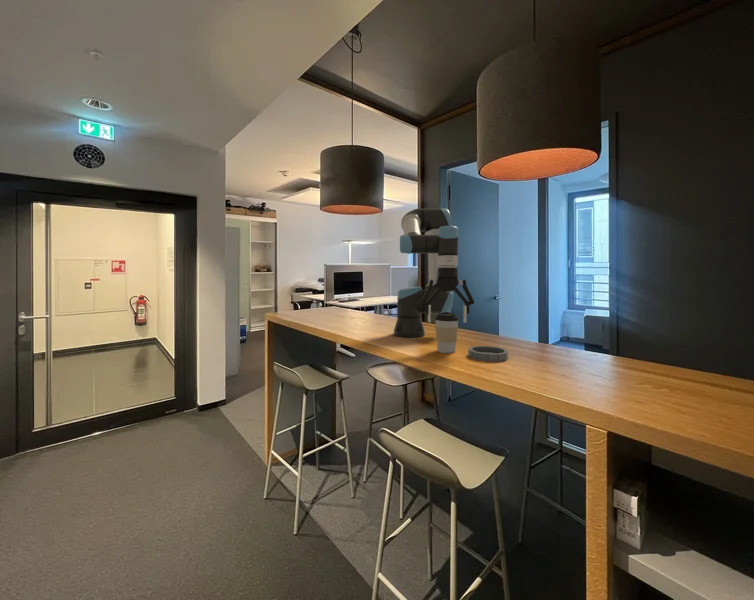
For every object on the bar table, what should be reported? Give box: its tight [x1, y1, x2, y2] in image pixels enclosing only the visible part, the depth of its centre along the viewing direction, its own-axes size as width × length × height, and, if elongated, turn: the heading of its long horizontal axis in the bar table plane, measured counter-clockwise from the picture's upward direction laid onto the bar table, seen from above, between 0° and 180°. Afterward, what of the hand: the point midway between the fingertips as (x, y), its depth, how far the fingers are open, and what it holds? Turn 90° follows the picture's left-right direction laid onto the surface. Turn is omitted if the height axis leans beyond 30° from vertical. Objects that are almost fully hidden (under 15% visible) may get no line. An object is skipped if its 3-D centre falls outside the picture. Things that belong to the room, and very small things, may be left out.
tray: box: [467, 345, 509, 362], centre depth 128 cm, size 14×14×2 cm
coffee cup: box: [435, 312, 459, 354], centre depth 136 cm, size 9×9×15 cm
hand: (446, 322), depth 135 cm, fingers open, 13 cm apart
